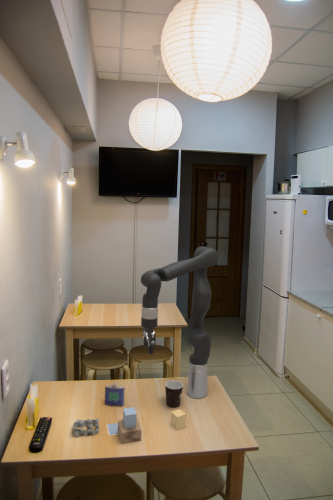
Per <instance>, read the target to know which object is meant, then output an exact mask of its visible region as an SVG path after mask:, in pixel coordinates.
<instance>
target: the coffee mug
mask: <svg viewBox="0 0 333 500" xmlns="http://www.w3.org/2000/svg"><path fill="white" fill-rule="evenodd" d="M183 389H184V384H183V382H182V381H179V380H173V379H172V380H166V382H165V383H164V390H165V401H166V406H167V407H168V408H171V409H175V408H176V409H177V408H179V407H180V406H181V400H182V393H183Z"/></svg>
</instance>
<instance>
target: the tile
mask: <svg viewBox="0 0 333 500" xmlns="http://www.w3.org/2000/svg"><path fill="white" fill-rule="evenodd" d="M106 428H107V433H108V436H115V435H119V434H118V422H116V423H109V424H106Z"/></svg>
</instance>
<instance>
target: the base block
mask: <svg viewBox="0 0 333 500" xmlns="http://www.w3.org/2000/svg"><path fill="white" fill-rule="evenodd" d="M117 423H118V434H117V435H118V437H119V441H120V444H121V445H122V444H129V443H134V442H140V441H142V428H141V425H140V423H139V419H138V417H136V427H134V428H128V429H125V427H124V424H123V418H121V419H117Z"/></svg>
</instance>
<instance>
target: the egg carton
mask: <svg viewBox="0 0 333 500" xmlns="http://www.w3.org/2000/svg"><path fill="white" fill-rule="evenodd" d="M99 423H100V421H99V418H95V419H94V418H93V419H89V418H88V419H76V420H75V421H73V423H72V425H73V426H72V429H71V430H72V436H74V437H76V438H78V437H80V436H81V435H82V436H85V437H86V436H88V435H92V436H96V435H97V434H98V433H99V431H100V427H99V426H100V424H99ZM78 427H79V428H78ZM85 427H86V429H85ZM94 427H95V430H94Z"/></svg>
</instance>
